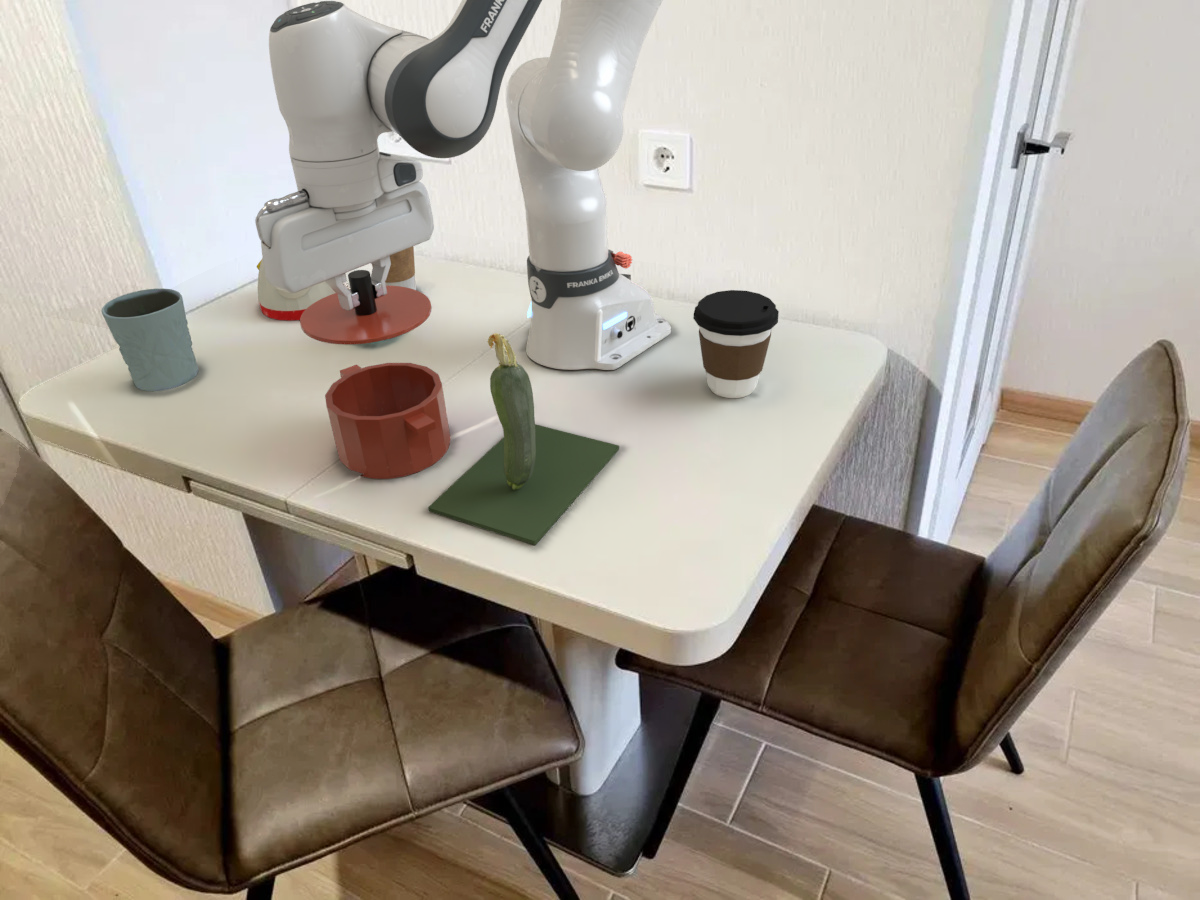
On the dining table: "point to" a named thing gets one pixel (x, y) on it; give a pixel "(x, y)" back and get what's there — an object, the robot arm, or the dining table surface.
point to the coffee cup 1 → (402, 269)
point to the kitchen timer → (287, 298)
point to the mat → (526, 486)
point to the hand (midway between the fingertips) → (364, 301)
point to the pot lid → (366, 314)
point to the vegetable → (514, 412)
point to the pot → (388, 419)
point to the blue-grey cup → (153, 337)
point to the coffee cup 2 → (734, 339)
